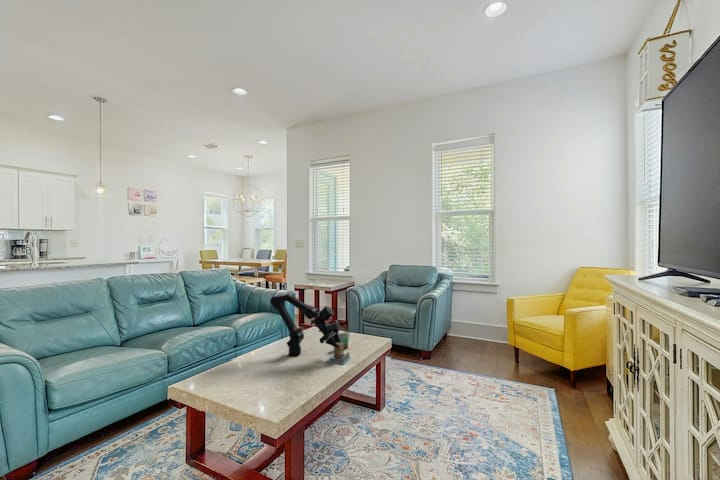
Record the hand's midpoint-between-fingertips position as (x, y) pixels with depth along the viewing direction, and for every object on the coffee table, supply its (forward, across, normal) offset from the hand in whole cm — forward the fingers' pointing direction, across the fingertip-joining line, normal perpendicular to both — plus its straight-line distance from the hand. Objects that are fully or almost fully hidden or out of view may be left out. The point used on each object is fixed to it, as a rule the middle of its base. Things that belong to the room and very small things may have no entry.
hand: (339, 345), depth 194 cm
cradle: (+6, 0, +6) cm, 8 cm away
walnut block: (+4, 0, +5) cm, 7 cm away
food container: (+3, +20, +10) cm, 23 cm away
